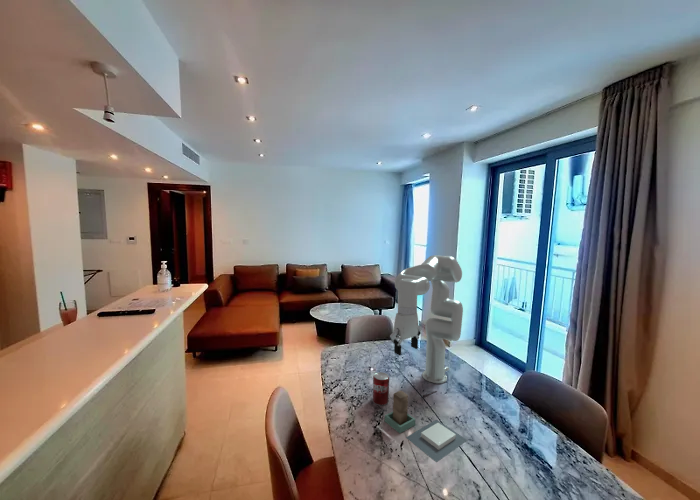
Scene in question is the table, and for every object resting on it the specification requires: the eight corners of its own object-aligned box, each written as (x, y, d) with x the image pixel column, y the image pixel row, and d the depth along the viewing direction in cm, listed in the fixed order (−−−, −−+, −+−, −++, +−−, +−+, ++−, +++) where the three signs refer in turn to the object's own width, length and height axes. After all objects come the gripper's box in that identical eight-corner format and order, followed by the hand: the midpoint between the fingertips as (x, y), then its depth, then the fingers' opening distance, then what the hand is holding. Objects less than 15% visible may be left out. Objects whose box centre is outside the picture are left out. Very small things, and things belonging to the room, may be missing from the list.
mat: (436, 420, 120) (436, 419, 120) (467, 441, 108) (467, 440, 108) (405, 438, 109) (405, 437, 109) (436, 463, 98) (436, 462, 98)
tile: (438, 422, 115) (421, 432, 110) (455, 434, 109) (438, 445, 103) (437, 426, 115) (420, 436, 110) (455, 438, 109) (438, 450, 103)
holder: (399, 414, 123) (399, 408, 123) (415, 426, 116) (415, 419, 116) (384, 422, 118) (384, 415, 118) (399, 434, 111) (400, 427, 111)
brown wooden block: (399, 418, 120) (400, 390, 119) (407, 423, 117) (408, 395, 116) (392, 421, 118) (393, 393, 117) (399, 427, 114) (400, 398, 113)
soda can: (388, 407, 128) (388, 381, 127) (371, 405, 130) (372, 378, 129) (389, 397, 135) (389, 372, 134) (373, 395, 137) (374, 371, 136)
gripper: (414, 304, 125) (413, 342, 127) (384, 311, 115) (384, 352, 117) (428, 308, 119) (427, 348, 121) (398, 316, 109) (397, 360, 111)
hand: (406, 350), depth 119 cm, fingers open, 9 cm apart
